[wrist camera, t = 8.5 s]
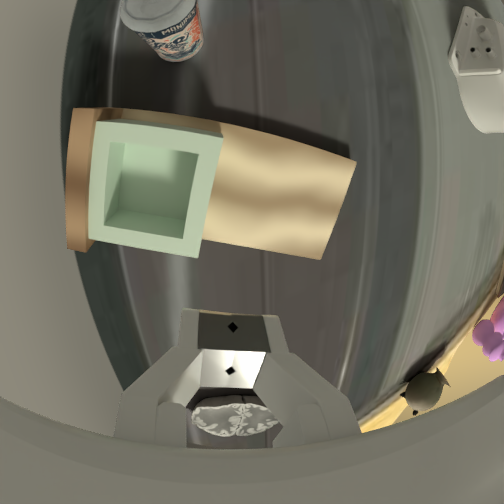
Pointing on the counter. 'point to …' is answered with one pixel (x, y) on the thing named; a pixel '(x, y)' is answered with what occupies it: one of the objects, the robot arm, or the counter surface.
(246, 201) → the board
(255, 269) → the counter surface
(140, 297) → the counter surface
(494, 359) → the container set
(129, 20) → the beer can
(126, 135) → the socket block
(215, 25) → the counter surface
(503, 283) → the hardcover book
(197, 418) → the brain slice
